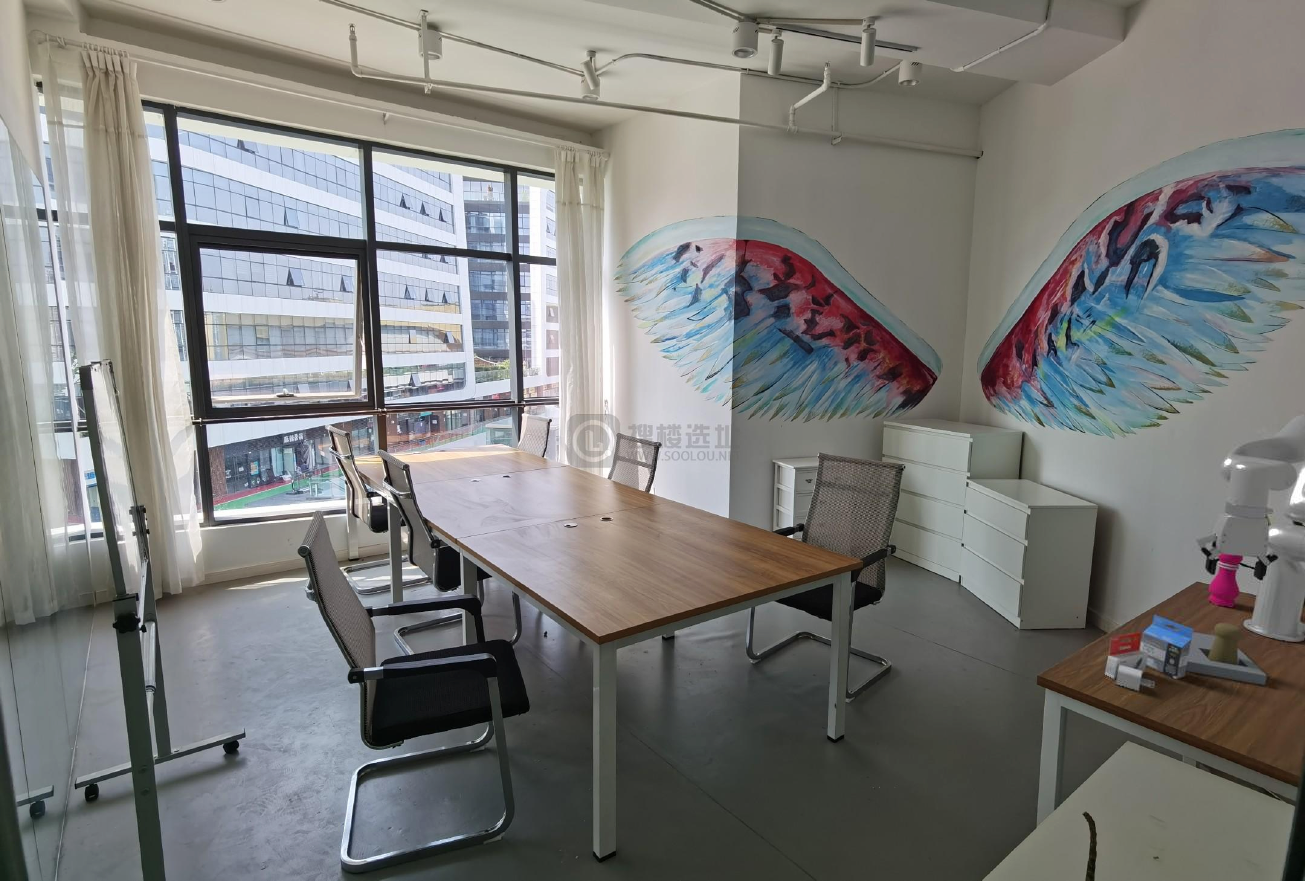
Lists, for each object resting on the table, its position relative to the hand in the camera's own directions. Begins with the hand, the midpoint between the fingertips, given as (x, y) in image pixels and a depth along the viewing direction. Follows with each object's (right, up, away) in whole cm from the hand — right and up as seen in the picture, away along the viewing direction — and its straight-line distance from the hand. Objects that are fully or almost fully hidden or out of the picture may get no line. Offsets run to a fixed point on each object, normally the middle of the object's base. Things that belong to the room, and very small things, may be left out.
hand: (1234, 575), depth 165 cm
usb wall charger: (-36, -24, -14) cm, 45 cm away
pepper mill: (+32, -17, +40) cm, 54 cm away
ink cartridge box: (-33, -23, -8) cm, 41 cm away
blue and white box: (-23, -23, -5) cm, 32 cm away
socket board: (-6, -22, +2) cm, 23 cm away
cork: (-5, -23, -2) cm, 23 cm away
